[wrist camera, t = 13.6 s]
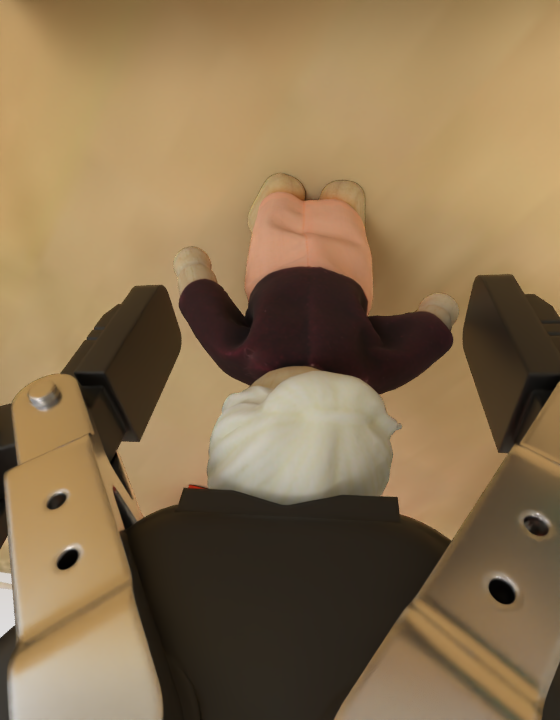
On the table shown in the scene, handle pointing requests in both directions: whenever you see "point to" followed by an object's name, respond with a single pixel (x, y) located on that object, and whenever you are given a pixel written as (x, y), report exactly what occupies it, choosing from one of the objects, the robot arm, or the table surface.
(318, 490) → the grandmother figurine
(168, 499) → the table surface
